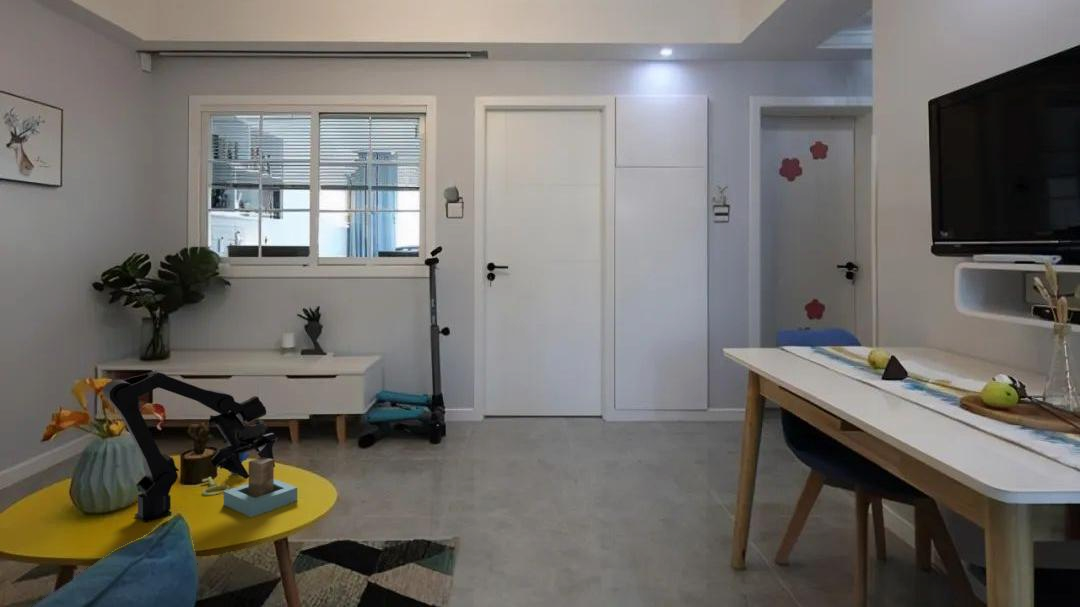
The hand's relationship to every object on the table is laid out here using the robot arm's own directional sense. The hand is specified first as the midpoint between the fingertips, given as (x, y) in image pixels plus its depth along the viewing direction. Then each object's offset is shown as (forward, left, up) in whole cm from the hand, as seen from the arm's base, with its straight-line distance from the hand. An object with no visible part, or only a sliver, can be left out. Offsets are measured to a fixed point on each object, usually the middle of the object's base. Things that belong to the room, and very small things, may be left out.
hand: (261, 472), depth 160 cm
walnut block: (0, 0, -8) cm, 8 cm away
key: (-2, +21, -10) cm, 24 cm away
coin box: (0, 0, -9) cm, 9 cm away
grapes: (+9, +27, -9) cm, 30 cm away
